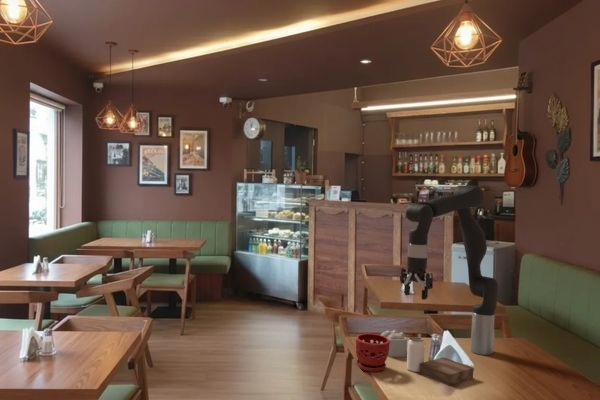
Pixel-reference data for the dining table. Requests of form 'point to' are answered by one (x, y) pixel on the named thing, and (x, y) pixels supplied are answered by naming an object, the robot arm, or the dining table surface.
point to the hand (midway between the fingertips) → (415, 297)
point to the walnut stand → (446, 371)
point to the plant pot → (371, 352)
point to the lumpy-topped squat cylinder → (396, 343)
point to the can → (415, 353)
